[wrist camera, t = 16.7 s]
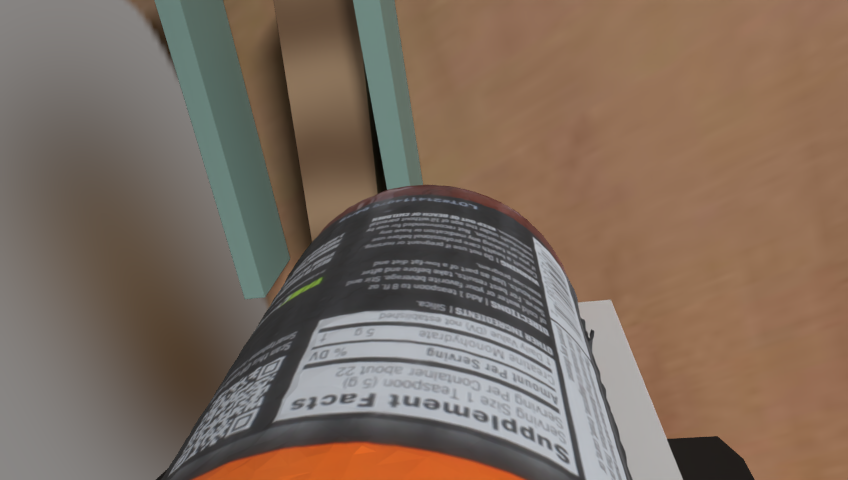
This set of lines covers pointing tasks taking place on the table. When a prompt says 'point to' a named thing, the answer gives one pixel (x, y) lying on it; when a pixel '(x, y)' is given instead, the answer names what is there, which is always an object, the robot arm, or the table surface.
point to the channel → (237, 136)
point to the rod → (329, 106)
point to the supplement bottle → (415, 358)
